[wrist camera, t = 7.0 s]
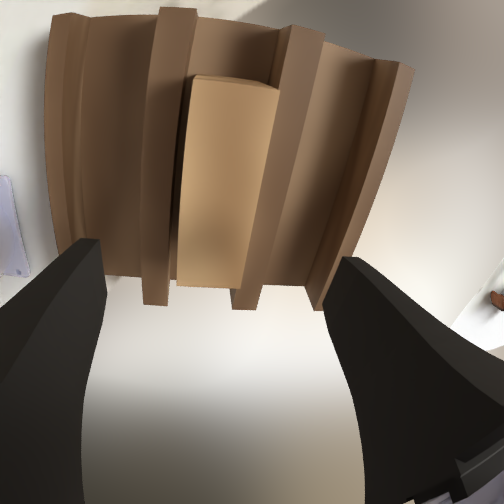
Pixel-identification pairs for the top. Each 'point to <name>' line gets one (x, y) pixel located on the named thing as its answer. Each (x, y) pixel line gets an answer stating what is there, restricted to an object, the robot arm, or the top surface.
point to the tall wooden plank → (222, 177)
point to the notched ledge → (174, 136)
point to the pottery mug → (497, 300)
